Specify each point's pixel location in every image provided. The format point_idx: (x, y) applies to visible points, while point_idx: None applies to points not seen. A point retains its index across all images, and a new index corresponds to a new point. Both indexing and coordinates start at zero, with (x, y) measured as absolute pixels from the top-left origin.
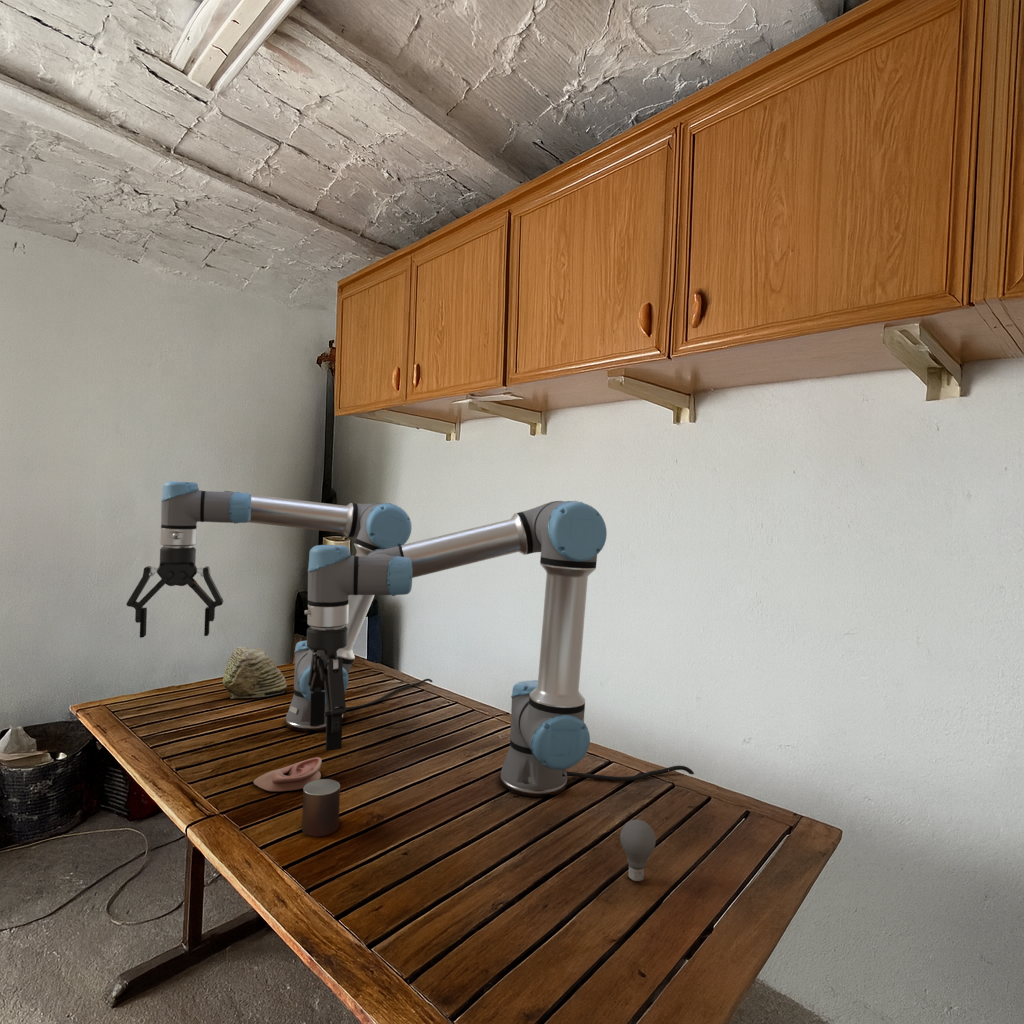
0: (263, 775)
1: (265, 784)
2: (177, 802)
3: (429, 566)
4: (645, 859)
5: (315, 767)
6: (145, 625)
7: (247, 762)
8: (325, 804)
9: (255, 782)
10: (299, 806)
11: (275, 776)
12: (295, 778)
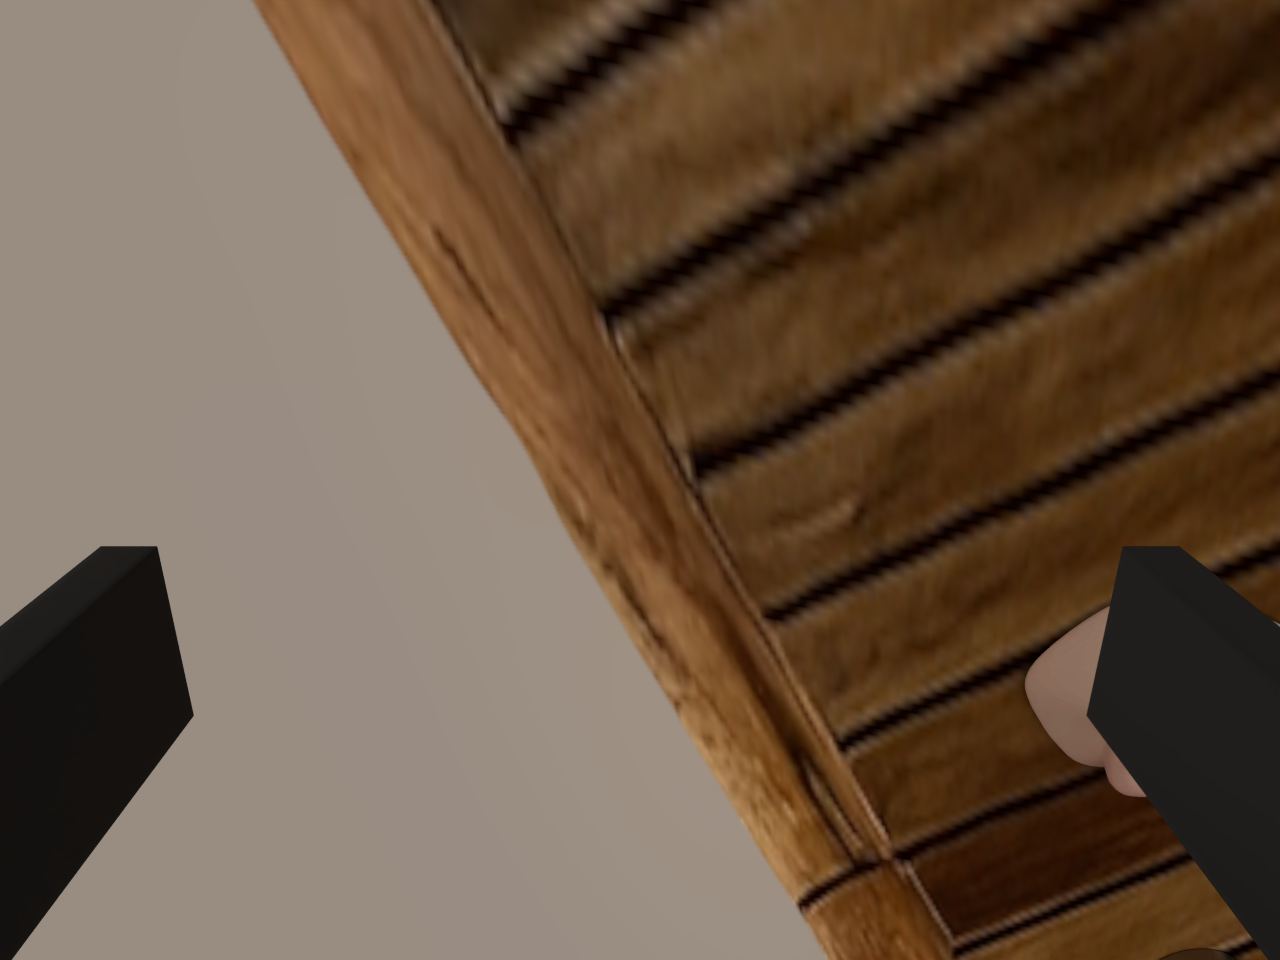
0: (1075, 686)
1: (1070, 740)
2: (744, 760)
3: None
4: None
5: None
6: (64, 708)
7: (1016, 454)
8: None
9: (1033, 700)
10: (1157, 866)
11: (1124, 778)
12: None
